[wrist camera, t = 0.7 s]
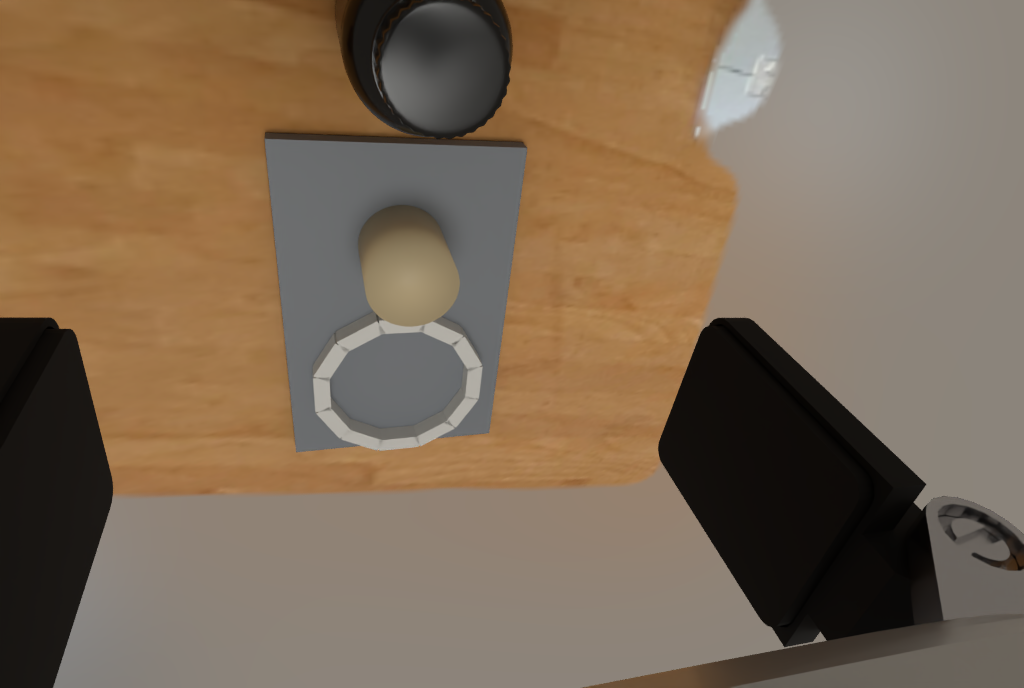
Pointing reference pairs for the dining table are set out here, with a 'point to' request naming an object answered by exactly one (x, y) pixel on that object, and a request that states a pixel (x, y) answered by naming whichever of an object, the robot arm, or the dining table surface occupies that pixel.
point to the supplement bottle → (427, 61)
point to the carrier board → (336, 279)
